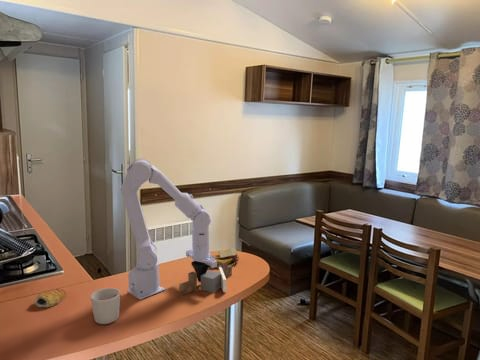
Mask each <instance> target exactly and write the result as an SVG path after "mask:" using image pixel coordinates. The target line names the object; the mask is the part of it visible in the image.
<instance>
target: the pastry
mask: <svg viewBox="0 0 480 360" xmlns="http://www.w3.org/2000/svg"><path fill="white" fill-rule="evenodd" d="M66 293H67V292H66V290H65V289H62V288H61V287H57V288H54V289H49V290H48V289H47V290H45V291H43V292H41V293H39V294H38V295H37V296H36V297H35V300H34V302H33V304H34V305H35V306H36V307H37V308H38V307H39V308H52V307H54V306H56V305H57V304H59V303H60V302H61V301H63V299H64V298H66Z"/></svg>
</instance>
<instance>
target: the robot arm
mask: <svg viewBox="0 0 480 360" xmlns="http://www.w3.org/2000/svg"><path fill="white" fill-rule="evenodd" d="M147 181H148V184H153V185H158V186H159V187H160V188H161V189H162V190H163V191H165V193H167V194H168V195H169V196H170V197H172V199H174V206H175V207H176V208H177V209H178V210H179V211H180V212H181V213H182V214H183V215H185V216H186V218H188V219H190V220H191V221H192V229H191V230H192V231H191V233H192V234H191V235H192V237H191V238H192V239H191V240H192V241H191V242H192V247H191V248H192V249H188V250H185V256H186V257H188V258H189V257H190V258H191V259H192V262H191V263H190V264H191V266H192V267H193V270H194V272H195V273H197V283H198V282H199V283H201V275H202V274H204V273H205V272H207V271H209V267H210V266H211V267H210V268H212V269H215V268H214V267H217V261H216V260H214V259H213V258H212V257H211V256H212V253H211V252H210V228H209V227H210V224H211V222H212V220H211V217H210V215H209V213H208V211H207V210H206V209H205V208H204V206H203V205H202V204H199V203H198V202H197V201H196V200H195V198H194V195H192V193H190V194H189V193H188V192H181V191H180V190H179V189H178V188H177V186H176V185H175V184H173V182H171V180H170V179H169V178H168V177H167V176H166V175H165V174H164V173H163V172H162V171H161V170H160V169H158V168H157V167H156V166H155V165H153V164H151V163H150V162H149V161H148V160H147V159H146V158H137V159H135V160H134V161H133V162H132V163H131V164H130V165H129V167H128V169H127V172H126V174H125V176H124V179H123V182H122V185H121V187H120V192H121V195H122V200H123V203H124V206H125V209H126V213H127V217H128V220H129V224H130V227H131V231H132V234H133V237H134V242H135V246H136V252H137V258H136V265H135V267H134V268H133V269H130V270H129V272H128V275H127V276H128V290H127V292H128V293H129V294H131V295H133V296H134V297H135V298H136V299H138V300H143V299H146V298H148V297H151V296H153V295H154V296H155V294H158V293H162V292H163V291H165V290H166V289H165V288H164V287H163V286H160V271H159V269H160V266H159V261H158V257H157V247H156V245H155V244H154V243H153V241H152V239H151V237H150V234H149V231H148V227H147V224H146V223H147V222H146V219H145V216H144V213H143V209H142V205H141V202H140V198H139V194H138V191H139V189H140V188H141V187H142V185H143V184H144V183H146V182H147Z"/></svg>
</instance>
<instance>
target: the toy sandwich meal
mask: <svg viewBox="0 0 480 360" xmlns="http://www.w3.org/2000/svg"><path fill="white" fill-rule="evenodd" d="M211 257H212V258H213V259H214V260H216V261H217V267H214V268H213V269H219V265H220V262H221V261H223V260H224V261H227V262H228V266H229V265H230V266H232V267H233V266H234V265H235V264H236V263H237V262H239V259H240V258H239V255H238V251H237V250H236V248H234V247H231V248H227V249H222V250H219V251H218V254H213V255H211ZM209 267H210V268H211V266H209Z"/></svg>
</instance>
